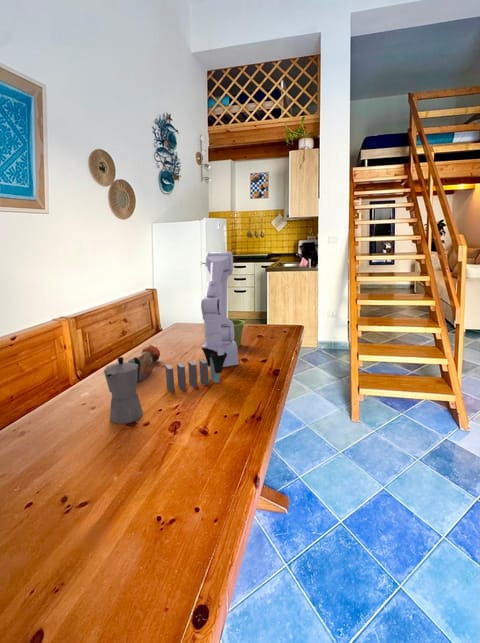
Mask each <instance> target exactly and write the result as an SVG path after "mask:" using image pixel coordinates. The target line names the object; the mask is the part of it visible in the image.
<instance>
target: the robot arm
mask: <svg viewBox="0 0 480 643" xmlns="http://www.w3.org/2000/svg"><path fill="white" fill-rule="evenodd" d="M205 263H206V264H205V265H206V267H207V269H208V270H207V271H208V272H209V275H210V278H209V279H210V280H209V281H207V283H206V284H205V285H206V286H205V292H204V298H202V299H201V302H200V309H201V314H202V320H203V324H204V325H203V326H204V327H203V328H204V340H203V342H204V344H202V345H201V351H203V354H204V356H205V361H206V362H208V368H209V367H210V358H212V361H213V364H214V370H215V373H219V374H221V373H223V369H224V368H226V367H232V366H238V365H239V364H240V363H239V353H238V351H239V349H238V347H237V344H236V342H235V341H233V340H234V324H233V322H232V321H231V320H232V319H230V318H228V279H229V276H230V275H231V276H232V275H233V272H234V255H233V253H232V251H213V252H212V251H211V252H210V251H207V252H206V254H205ZM221 325H229V326H221Z"/></svg>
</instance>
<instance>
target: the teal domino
mask: <svg viewBox="0 0 480 643" xmlns="http://www.w3.org/2000/svg"><path fill="white" fill-rule="evenodd" d="M209 370H210V379H211V380H212V382H214V384H219V383H221V382H220V373H215V370H214V364H213V361H212V358H210V369H209Z"/></svg>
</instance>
